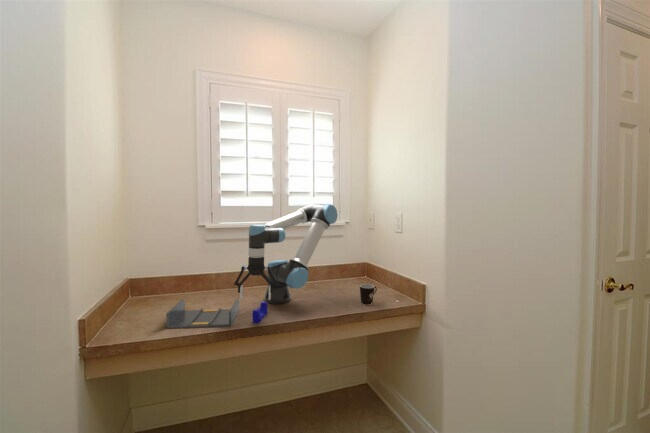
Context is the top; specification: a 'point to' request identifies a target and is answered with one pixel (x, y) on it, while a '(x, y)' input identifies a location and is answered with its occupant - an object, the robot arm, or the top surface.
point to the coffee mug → (367, 293)
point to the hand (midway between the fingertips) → (255, 299)
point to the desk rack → (201, 316)
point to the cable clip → (260, 313)
